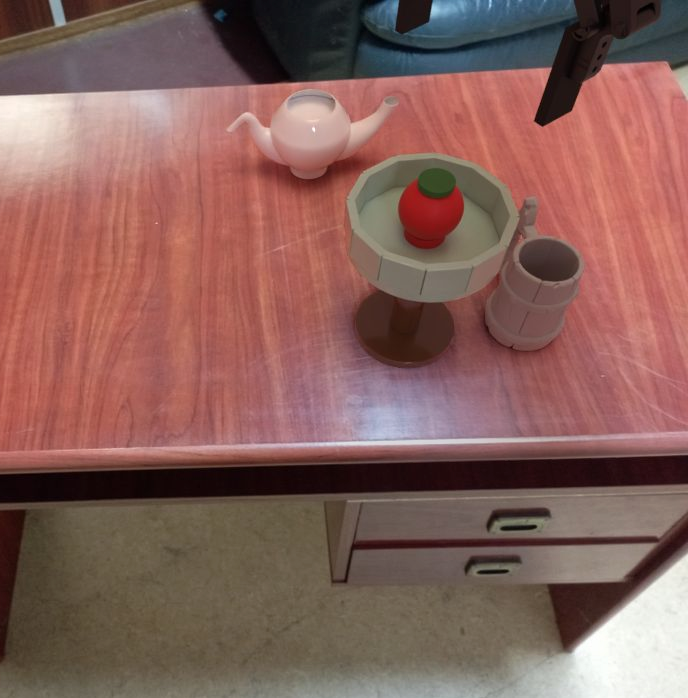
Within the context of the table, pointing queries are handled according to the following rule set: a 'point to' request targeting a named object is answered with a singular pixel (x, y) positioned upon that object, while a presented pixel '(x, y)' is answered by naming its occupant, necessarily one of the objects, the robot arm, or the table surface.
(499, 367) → the table surface
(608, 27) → the robot arm
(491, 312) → the mug
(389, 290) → the dish
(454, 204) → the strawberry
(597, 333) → the table surface
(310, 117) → the teapot
